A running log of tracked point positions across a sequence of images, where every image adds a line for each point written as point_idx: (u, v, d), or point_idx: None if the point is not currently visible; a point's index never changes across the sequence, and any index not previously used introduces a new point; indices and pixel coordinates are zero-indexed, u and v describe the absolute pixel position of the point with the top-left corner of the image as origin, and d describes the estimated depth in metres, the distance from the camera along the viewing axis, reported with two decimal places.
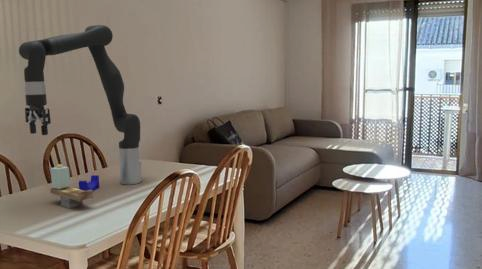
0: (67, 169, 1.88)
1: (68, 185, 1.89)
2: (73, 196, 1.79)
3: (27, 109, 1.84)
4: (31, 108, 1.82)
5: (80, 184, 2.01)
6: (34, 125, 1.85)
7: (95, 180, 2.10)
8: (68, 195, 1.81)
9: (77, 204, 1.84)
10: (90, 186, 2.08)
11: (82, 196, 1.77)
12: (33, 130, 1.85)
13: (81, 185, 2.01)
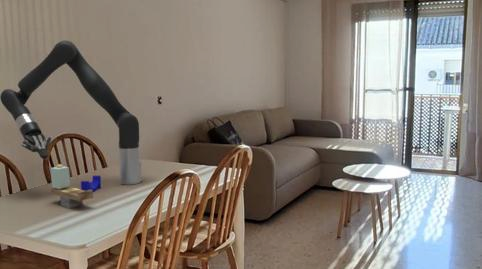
0: (67, 169, 1.88)
1: (68, 185, 1.89)
2: (73, 196, 1.79)
3: None
4: None
5: (82, 184, 2.00)
6: None
7: (97, 180, 2.10)
8: (68, 195, 1.81)
9: (77, 204, 1.84)
10: (92, 186, 2.08)
11: (82, 196, 1.77)
12: None
13: (84, 185, 2.00)
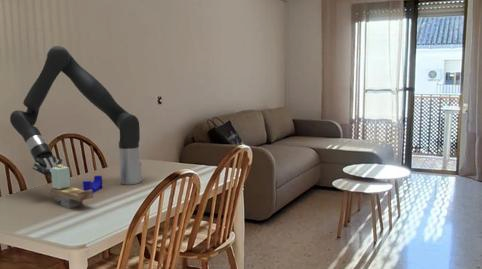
0: (67, 169, 1.88)
1: (68, 185, 1.89)
2: (73, 196, 1.79)
3: None
4: None
5: (84, 184, 2.00)
6: None
7: (98, 180, 2.10)
8: (68, 195, 1.81)
9: (77, 204, 1.84)
10: (94, 186, 2.08)
11: (82, 196, 1.77)
12: None
13: (86, 185, 2.00)
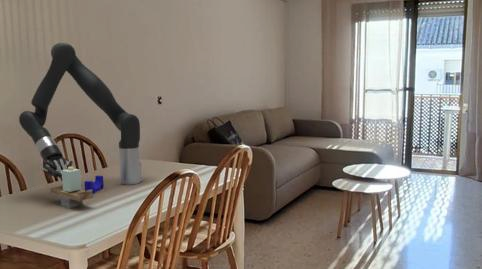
0: (78, 171, 1.83)
1: (79, 188, 1.84)
2: (73, 196, 1.79)
3: None
4: None
5: (86, 184, 2.00)
6: None
7: (100, 180, 2.10)
8: (68, 195, 1.81)
9: (77, 204, 1.84)
10: (95, 186, 2.08)
11: (82, 196, 1.77)
12: None
13: (87, 185, 2.00)
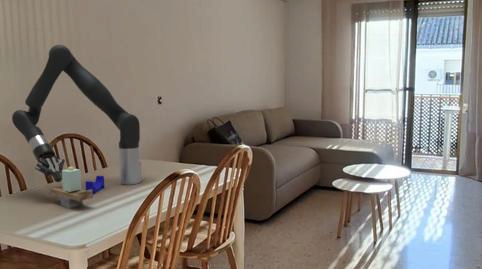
0: (78, 171, 1.83)
1: (79, 188, 1.84)
2: (73, 196, 1.79)
3: None
4: None
5: (87, 185, 2.00)
6: None
7: (100, 180, 2.10)
8: (68, 195, 1.81)
9: (77, 204, 1.84)
10: (96, 187, 2.08)
11: (82, 196, 1.77)
12: None
13: (88, 186, 2.00)
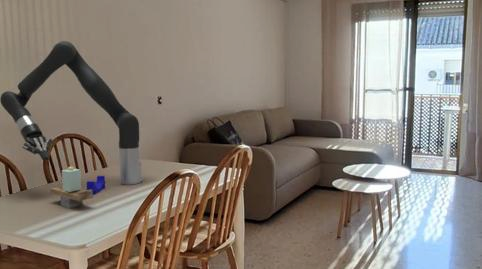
0: (78, 171, 1.83)
1: (79, 188, 1.84)
2: (73, 196, 1.79)
3: None
4: None
5: (88, 185, 2.00)
6: None
7: (101, 180, 2.09)
8: (68, 195, 1.81)
9: (77, 204, 1.84)
10: (97, 187, 2.08)
11: (82, 196, 1.77)
12: None
13: (89, 185, 2.00)
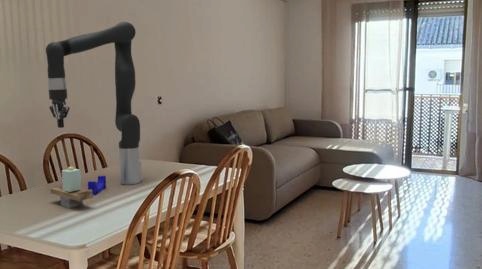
0: (78, 171, 1.83)
1: (79, 188, 1.84)
2: (73, 196, 1.79)
3: (51, 106, 2.07)
4: (54, 102, 2.04)
5: (89, 185, 2.00)
6: None
7: (102, 181, 2.09)
8: (68, 195, 1.81)
9: (77, 204, 1.84)
10: (98, 187, 2.07)
11: (82, 196, 1.77)
12: None
13: (90, 186, 2.00)
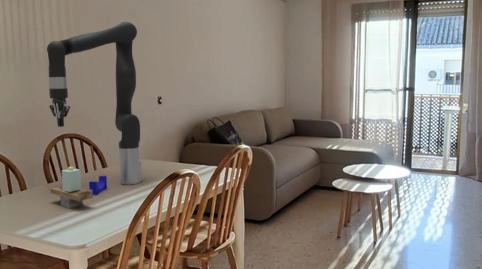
0: (78, 171, 1.83)
1: (79, 188, 1.84)
2: (73, 196, 1.79)
3: (51, 105, 2.06)
4: (54, 101, 2.04)
5: (90, 185, 1.99)
6: None
7: (103, 180, 2.09)
8: (68, 195, 1.81)
9: (77, 204, 1.84)
10: (99, 187, 2.07)
11: (82, 196, 1.77)
12: None
13: (92, 186, 1.99)
